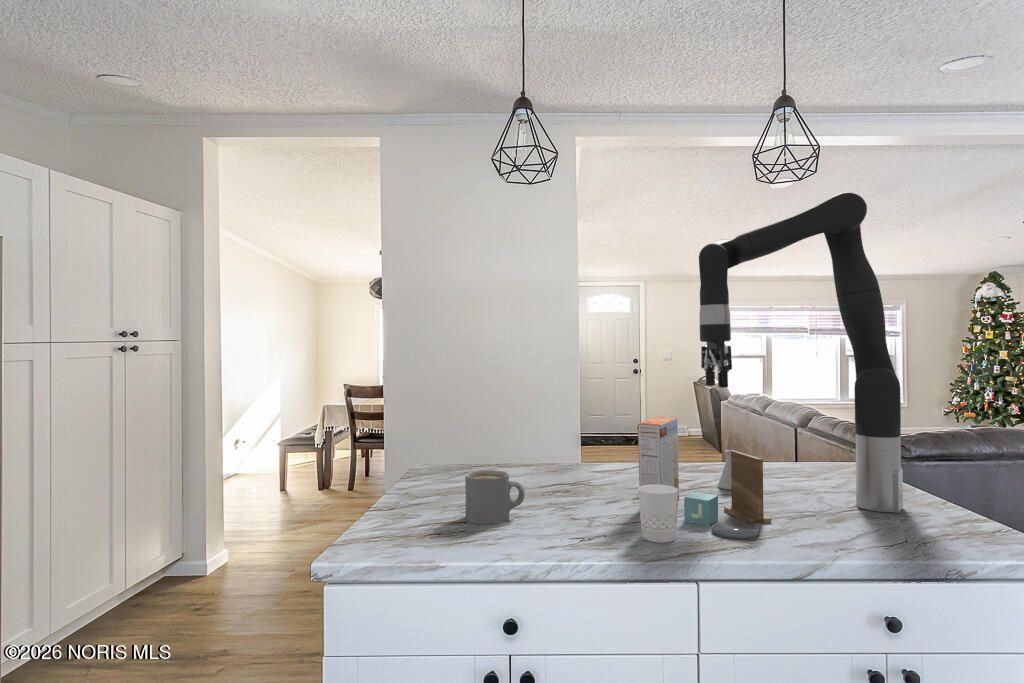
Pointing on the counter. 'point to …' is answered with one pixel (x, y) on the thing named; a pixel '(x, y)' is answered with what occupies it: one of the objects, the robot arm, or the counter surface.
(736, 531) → the coaster
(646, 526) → the white cup
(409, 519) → the counter surface
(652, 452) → the cracker box
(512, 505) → the coffee mug
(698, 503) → the letter cube
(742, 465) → the wooden stand
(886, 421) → the robot arm
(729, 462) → the flask
